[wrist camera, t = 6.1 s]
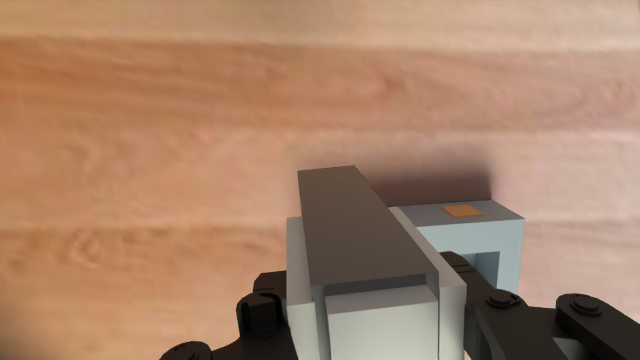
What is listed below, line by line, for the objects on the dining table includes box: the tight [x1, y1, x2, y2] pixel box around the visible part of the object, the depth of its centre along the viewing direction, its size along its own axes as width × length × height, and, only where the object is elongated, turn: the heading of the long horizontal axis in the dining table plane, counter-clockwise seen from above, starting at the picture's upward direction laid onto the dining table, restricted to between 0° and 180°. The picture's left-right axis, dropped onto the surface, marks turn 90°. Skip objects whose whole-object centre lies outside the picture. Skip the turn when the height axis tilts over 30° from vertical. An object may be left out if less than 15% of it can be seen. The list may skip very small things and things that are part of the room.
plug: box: [297, 166, 439, 360], centre depth 16 cm, size 4×4×14 cm
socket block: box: [388, 200, 525, 295], centre depth 39 cm, size 20×12×6 cm, turn 92°
